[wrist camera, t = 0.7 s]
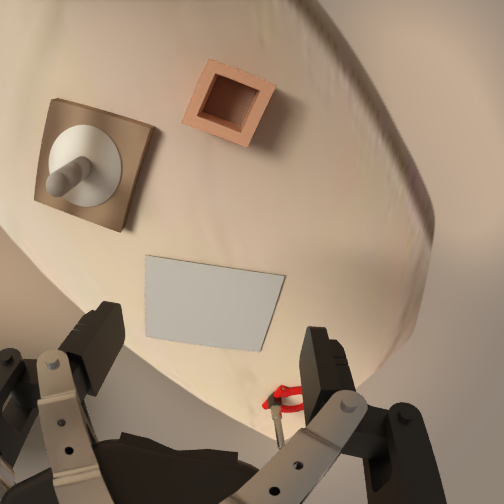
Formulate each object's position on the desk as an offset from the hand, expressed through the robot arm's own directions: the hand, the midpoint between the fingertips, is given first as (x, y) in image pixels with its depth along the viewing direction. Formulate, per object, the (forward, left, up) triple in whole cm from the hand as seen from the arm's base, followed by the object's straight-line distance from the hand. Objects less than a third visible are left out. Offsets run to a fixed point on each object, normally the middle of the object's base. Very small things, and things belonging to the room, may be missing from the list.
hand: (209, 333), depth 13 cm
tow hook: (+25, -33, -22) cm, 47 cm away
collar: (-3, +7, -22) cm, 23 cm away
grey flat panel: (+7, -12, -22) cm, 26 cm away
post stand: (-15, -4, -22) cm, 26 cm away
